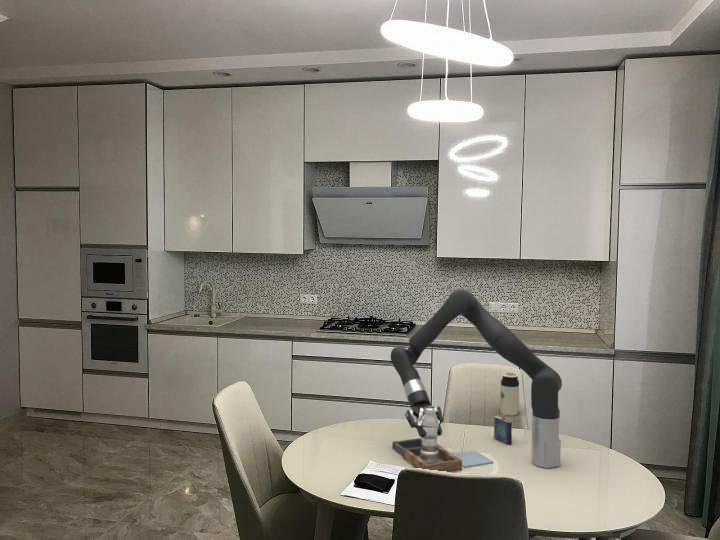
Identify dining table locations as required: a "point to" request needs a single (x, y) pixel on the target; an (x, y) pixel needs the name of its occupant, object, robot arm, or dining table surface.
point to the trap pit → (408, 446)
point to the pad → (472, 459)
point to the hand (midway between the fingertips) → (431, 435)
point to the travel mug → (509, 394)
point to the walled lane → (448, 464)
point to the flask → (503, 429)
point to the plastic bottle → (429, 436)
